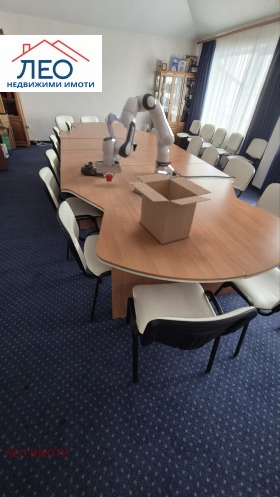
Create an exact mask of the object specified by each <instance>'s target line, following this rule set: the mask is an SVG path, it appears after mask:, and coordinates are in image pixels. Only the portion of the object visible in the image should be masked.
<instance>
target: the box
mask: <svg viewBox="0 0 280 497" xmlns="http://www.w3.org/2000/svg"><path fill="white" fill-rule="evenodd" d="M135 177H136V178H137V179H138V180H139V181H141V182H139V181H137V182H136V181H129V182H128V183H129V184H130V185H131V186H132V187H133V188H134V187H135V188H136V189H138V190H139V191H140V192H141V193H142V195H141V207H140V224H141V225H142V226H143V227H144V228H145V229H146V230H147V231H148V232H149V233H150V235H152V236H153V237H154V238H155V239H156V240H157V241H158V242H159V243H160V244H161V245H164V244H169V243H173V242H175V241H179V240H184V239H187V238H189V237H190V233H191V229H192V224H193V221H194V217H195V212H196V208H197V204H198V203H200V202H206V201H211V200H212V199H211V198H208V197H203V196H204V195H208V194H212V192H211V191H210V190H208V189H206V188H204V187H203V186H202V185H199V184H197V183H195V182H194V181H191V180H189V179H188V178H187V177H181V176H177V177H174V178H169V179H168V178H167V177H166V176H164V175H163V174H161V173H160V174H154V173H152V174H145V175H136V176H135Z"/></svg>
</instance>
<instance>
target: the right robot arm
mask: <svg viewBox="0 0 280 497" xmlns="http://www.w3.org/2000/svg"><path fill="white" fill-rule="evenodd" d="M147 111H148V113H149V116H150V120H151V122H152V125H153V127H154V129H155V131H156V135H155V138H156V159H155V165H154V171H153V174H160V173H161V174H163V175H164V176H166V177H167V178H168V179H172V178H177V175H178V176H179V177H184V178H225V179H231V178H233V179H236V176H221V175H192V176H191V175H188V176H186V175H181V173H178V171H177V170H175V169H174V168H173V167H172V166H171V165H172V164H173V162H172V161H169V158H170V147H171V146H173V144H174V143H175V136H174V134H173V132H172V129H171V127H170V125H169V123H168V121H167V118H166V114H165V112H164V109H163V106H162V104H161V101H160V100H159V99H158V98H155V96H154V95H153V94H152V93H141V94H140V95H136V96H135V97H134V96H129V97H128V98H127V99H126V101H125V103H124V105H123V107H122V110H121V113H120V116H119V117H120V119H121V122H122V123H121V125H123V127H124V126H125V127H126V128H127V129H126V128H125V127H124V128H125V129H126V135H125V139H124V141H123V142H121V141H118V140H117V139H116V140H114V139H113V138H112V137H110V136H106V137H104V138H103V139H102V143H101V146H102V149H101V150H102V159H101V160H100V159H99V160H96V161H94V165H95V168H96V172H97V173H103V175H104V176H103V177H104V179H106V175H105V173H106V174H112V179H115V175H116V174H121V173H122V172H123V171H122V170H123V169H122V165H121V159H117V158H114V154H116V155H119V157H121V158H123V159H126V158H128V157H129V156H131V153H132V148H133V145H132V142H133V138H134V133H135V134H136V132H135V129H136V127H137V124H136V118H137V115H138V113H141V112H147Z"/></svg>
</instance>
